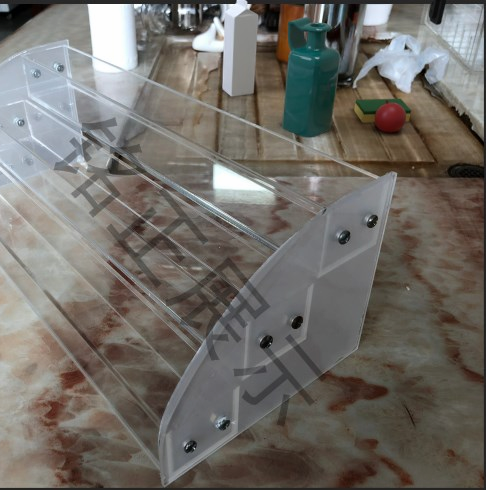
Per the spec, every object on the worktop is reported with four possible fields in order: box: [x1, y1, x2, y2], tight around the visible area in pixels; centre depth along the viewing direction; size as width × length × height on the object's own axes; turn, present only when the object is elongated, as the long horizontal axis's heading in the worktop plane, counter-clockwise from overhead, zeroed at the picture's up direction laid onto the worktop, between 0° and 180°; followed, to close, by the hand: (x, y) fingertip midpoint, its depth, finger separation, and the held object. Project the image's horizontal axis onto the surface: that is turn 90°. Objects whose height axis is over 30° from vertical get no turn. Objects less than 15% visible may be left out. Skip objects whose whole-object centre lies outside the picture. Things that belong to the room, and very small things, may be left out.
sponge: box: [354, 98, 412, 124], centre depth 131 cm, size 10×7×3 cm
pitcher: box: [281, 16, 341, 138], centre depth 122 cm, size 10×8×22 cm
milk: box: [221, 0, 259, 97], centre depth 142 cm, size 6×6×22 cm
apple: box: [374, 100, 406, 134], centre depth 124 cm, size 6×6×7 cm
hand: (464, 21), depth 98 cm, fingers open, 9 cm apart
